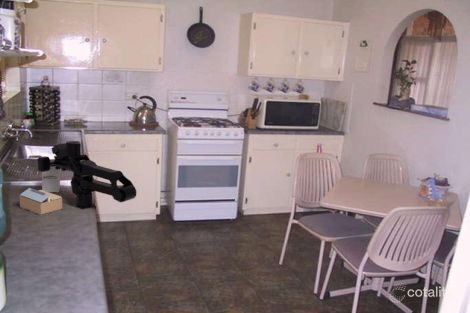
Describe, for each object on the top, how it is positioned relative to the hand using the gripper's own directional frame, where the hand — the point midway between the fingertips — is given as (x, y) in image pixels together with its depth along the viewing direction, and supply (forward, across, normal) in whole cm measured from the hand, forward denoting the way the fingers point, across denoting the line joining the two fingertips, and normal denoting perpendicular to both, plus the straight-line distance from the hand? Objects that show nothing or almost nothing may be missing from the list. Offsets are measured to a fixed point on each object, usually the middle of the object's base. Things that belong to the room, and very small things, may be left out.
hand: (46, 159), depth 200 cm
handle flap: (-15, +16, +11) cm, 24 cm away
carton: (-15, +14, +17) cm, 26 cm away
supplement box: (+3, -4, +16) cm, 17 cm away
